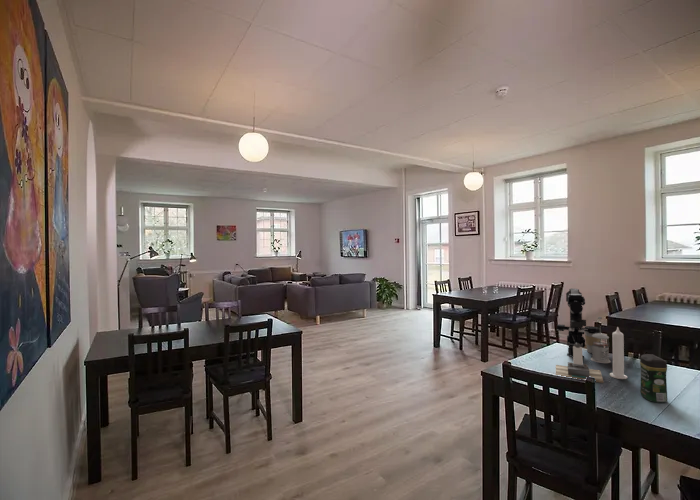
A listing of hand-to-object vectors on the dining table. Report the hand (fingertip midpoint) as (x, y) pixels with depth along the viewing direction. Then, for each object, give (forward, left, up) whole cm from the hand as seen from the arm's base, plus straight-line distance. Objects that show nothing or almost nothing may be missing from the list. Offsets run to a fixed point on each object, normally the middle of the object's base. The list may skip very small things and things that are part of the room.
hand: (576, 345), depth 197 cm
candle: (-9, +17, -12) cm, 23 cm away
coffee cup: (-26, -21, -12) cm, 36 cm away
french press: (-20, -7, -12) cm, 25 cm away
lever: (+7, +11, -7) cm, 15 cm away
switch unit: (+7, +11, -12) cm, 17 cm away
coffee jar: (-3, +42, -12) cm, 43 cm away
